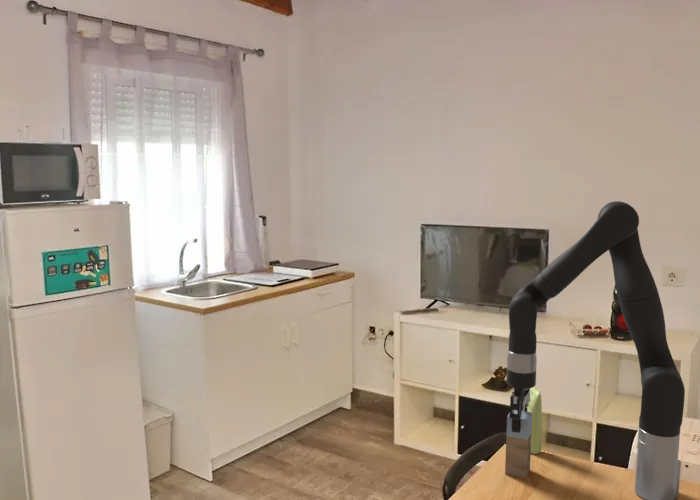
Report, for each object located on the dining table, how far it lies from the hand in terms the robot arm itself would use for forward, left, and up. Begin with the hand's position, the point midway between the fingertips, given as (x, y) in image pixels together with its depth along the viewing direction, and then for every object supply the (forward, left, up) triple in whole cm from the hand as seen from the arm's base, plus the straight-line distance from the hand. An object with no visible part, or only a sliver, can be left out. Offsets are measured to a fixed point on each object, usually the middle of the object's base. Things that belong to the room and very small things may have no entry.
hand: (519, 425), depth 168 cm
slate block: (0, 0, -2) cm, 2 cm away
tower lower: (0, 0, -13) cm, 13 cm away
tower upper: (0, 0, -8) cm, 8 cm away
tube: (-11, -10, -13) cm, 20 cm away
